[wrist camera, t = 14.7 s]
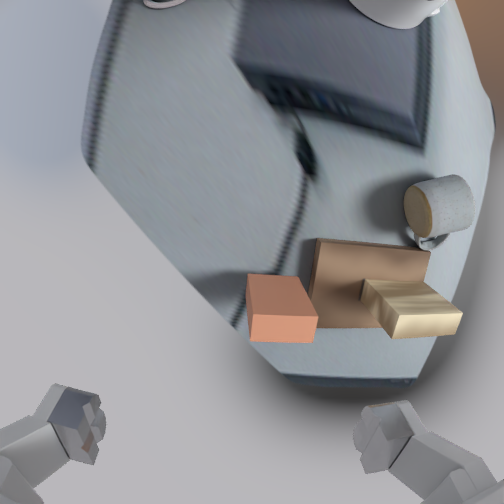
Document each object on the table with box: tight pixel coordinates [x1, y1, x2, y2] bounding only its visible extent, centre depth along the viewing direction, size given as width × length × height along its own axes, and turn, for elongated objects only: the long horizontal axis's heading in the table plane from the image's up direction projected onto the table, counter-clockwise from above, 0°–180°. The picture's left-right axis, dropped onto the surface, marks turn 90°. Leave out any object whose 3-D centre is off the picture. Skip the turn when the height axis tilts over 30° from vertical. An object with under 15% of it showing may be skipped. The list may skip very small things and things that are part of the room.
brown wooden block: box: [308, 238, 463, 339], centre depth 36 cm, size 12×17×12 cm
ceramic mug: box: [404, 175, 475, 250], centre depth 36 cm, size 11×8×8 cm
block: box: [246, 274, 318, 343], centre depth 34 cm, size 3×6×10 cm, turn 85°
